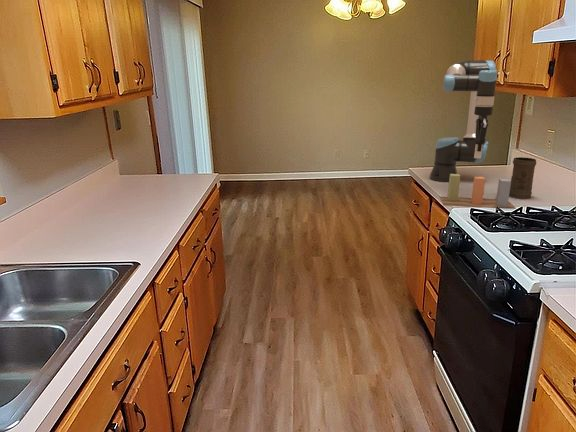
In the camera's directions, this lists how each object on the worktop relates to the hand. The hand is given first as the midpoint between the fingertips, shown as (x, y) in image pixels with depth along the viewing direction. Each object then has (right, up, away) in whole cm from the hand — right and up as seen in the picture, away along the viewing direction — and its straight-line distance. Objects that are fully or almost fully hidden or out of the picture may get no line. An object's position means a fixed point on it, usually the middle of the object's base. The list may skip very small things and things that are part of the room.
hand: (477, 158), depth 213 cm
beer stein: (+24, -18, +12) cm, 32 cm away
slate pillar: (+8, -22, -7) cm, 25 cm away
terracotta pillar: (-1, -21, -2) cm, 21 cm away
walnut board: (-1, -22, -1) cm, 22 cm away
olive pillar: (-11, -19, +3) cm, 22 cm away
